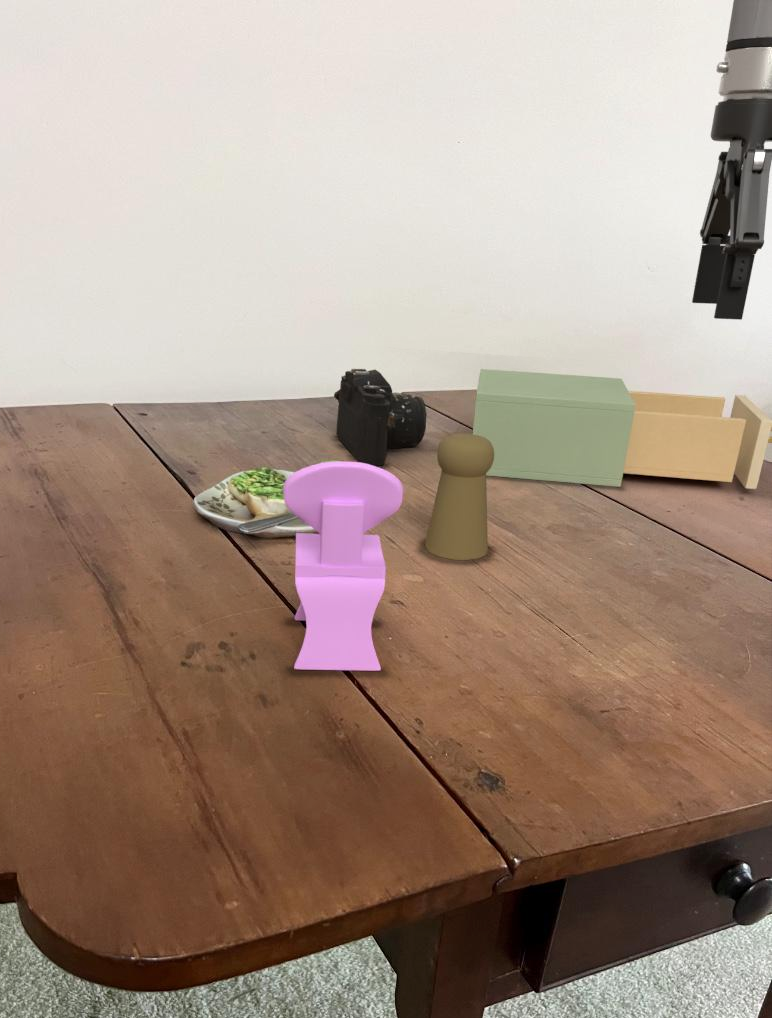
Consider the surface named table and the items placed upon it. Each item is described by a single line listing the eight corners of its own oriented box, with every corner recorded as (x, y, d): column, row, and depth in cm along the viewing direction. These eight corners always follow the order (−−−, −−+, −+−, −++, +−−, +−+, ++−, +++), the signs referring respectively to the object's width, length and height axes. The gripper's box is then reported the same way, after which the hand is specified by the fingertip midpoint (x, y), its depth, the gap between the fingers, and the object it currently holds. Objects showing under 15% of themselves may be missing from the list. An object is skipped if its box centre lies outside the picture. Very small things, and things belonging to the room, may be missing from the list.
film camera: (457, 459, 116) (465, 380, 112) (376, 472, 110) (381, 388, 106) (379, 426, 130) (383, 354, 125) (302, 436, 124) (304, 361, 120)
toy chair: (384, 617, 74) (397, 435, 68) (394, 671, 66) (409, 470, 60) (282, 615, 74) (284, 432, 68) (279, 669, 66) (282, 467, 60)
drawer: (776, 460, 117) (792, 398, 113) (807, 493, 105) (825, 425, 101) (598, 446, 120) (608, 385, 117) (607, 476, 108) (619, 410, 105)
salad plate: (319, 564, 84) (321, 516, 82) (155, 529, 90) (153, 484, 88) (395, 503, 100) (398, 462, 98) (251, 478, 106) (251, 439, 104)
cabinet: (608, 453, 121) (621, 378, 117) (620, 487, 108) (635, 404, 104) (472, 442, 124) (480, 368, 119) (468, 474, 110) (476, 392, 106)
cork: (487, 562, 85) (501, 447, 81) (422, 556, 86) (432, 442, 82) (488, 539, 91) (500, 430, 86) (427, 534, 92) (436, 425, 87)
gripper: (696, 107, 108) (664, 296, 116) (744, 88, 85) (700, 324, 94) (763, 107, 106) (727, 298, 115) (830, 89, 84) (778, 327, 93)
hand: (715, 310), depth 105 cm, fingers open, 13 cm apart
